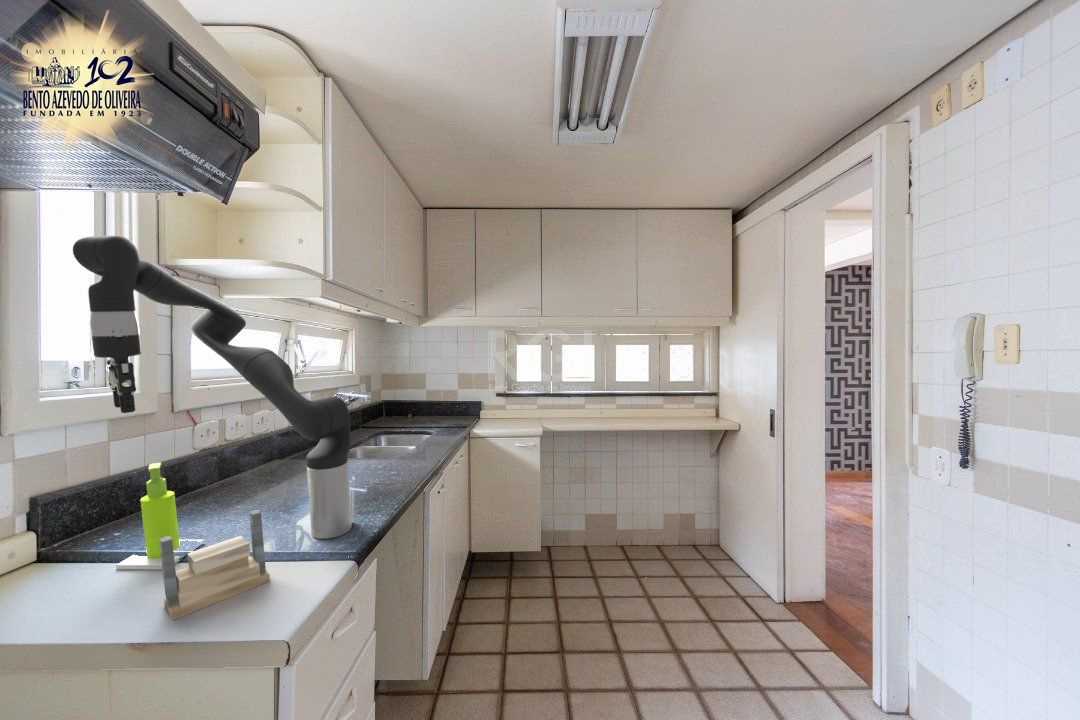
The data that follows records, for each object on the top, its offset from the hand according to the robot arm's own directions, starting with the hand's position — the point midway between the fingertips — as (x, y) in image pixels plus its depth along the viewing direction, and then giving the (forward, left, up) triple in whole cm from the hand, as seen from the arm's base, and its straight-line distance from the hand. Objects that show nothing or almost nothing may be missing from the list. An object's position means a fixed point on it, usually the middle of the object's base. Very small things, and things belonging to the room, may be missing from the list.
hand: (124, 409), depth 100 cm
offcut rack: (+12, +26, -34) cm, 44 cm away
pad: (-2, +3, -34) cm, 34 cm away
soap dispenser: (-2, +3, -33) cm, 34 cm away
